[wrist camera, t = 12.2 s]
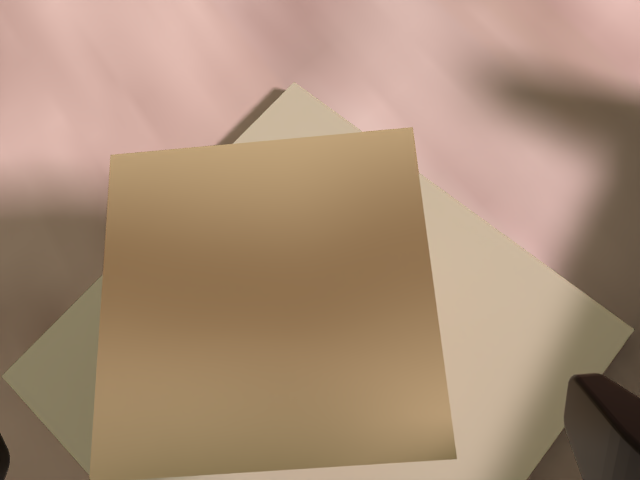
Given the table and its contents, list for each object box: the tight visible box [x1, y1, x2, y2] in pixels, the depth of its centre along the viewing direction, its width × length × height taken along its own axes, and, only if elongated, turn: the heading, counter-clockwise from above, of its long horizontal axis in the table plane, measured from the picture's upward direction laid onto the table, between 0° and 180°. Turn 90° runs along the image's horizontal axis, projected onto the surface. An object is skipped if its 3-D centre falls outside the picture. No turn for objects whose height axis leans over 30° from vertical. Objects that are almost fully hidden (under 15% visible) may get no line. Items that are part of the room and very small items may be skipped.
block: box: [89, 127, 457, 480], centre depth 12 cm, size 5×5×8 cm
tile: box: [2, 82, 635, 480], centre depth 16 cm, size 13×13×1 cm
